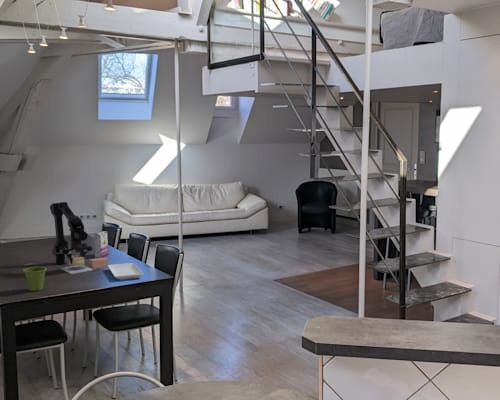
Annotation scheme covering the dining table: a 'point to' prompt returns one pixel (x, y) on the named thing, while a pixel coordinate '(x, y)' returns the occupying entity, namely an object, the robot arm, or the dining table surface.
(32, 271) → the plant pot
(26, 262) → the dining table surface
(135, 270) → the tray
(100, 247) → the candy bar box
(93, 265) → the brick
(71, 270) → the blueprint board
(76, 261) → the brick
